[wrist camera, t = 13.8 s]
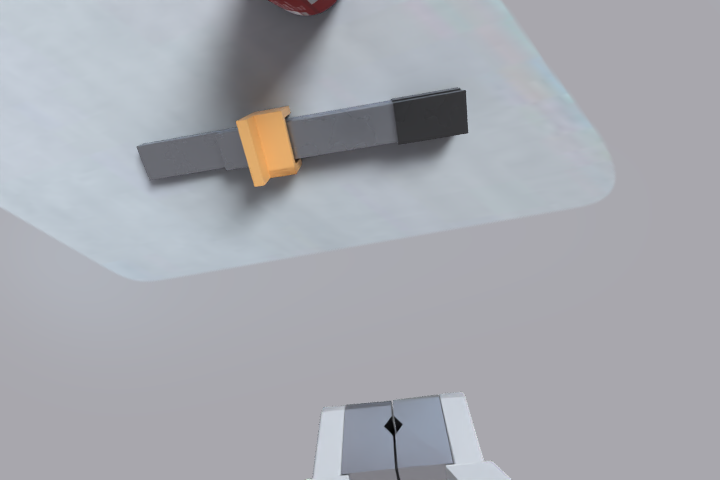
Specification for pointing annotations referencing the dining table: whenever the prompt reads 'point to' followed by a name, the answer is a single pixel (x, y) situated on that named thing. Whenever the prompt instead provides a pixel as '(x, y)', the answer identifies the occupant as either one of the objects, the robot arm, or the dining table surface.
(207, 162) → the tongs
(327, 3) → the soda can
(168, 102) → the dining table surface
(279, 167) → the orange c-shaped bracket
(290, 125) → the tongs arm
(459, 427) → the robot arm
